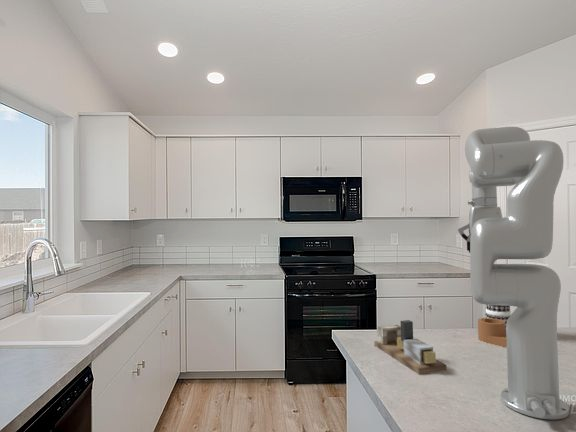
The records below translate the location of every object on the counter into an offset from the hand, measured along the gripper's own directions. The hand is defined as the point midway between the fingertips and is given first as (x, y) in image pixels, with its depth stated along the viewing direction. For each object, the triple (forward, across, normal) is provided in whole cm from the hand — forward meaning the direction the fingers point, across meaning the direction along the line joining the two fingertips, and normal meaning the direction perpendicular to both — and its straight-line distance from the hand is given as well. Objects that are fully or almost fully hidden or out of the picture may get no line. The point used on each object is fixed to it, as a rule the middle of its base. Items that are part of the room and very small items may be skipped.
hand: (486, 252), depth 122 cm
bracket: (+31, +5, 0) cm, 32 cm away
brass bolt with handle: (+29, -25, -24) cm, 45 cm away
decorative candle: (+31, +6, +12) cm, 34 cm away
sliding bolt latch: (+31, -27, -20) cm, 46 cm away
